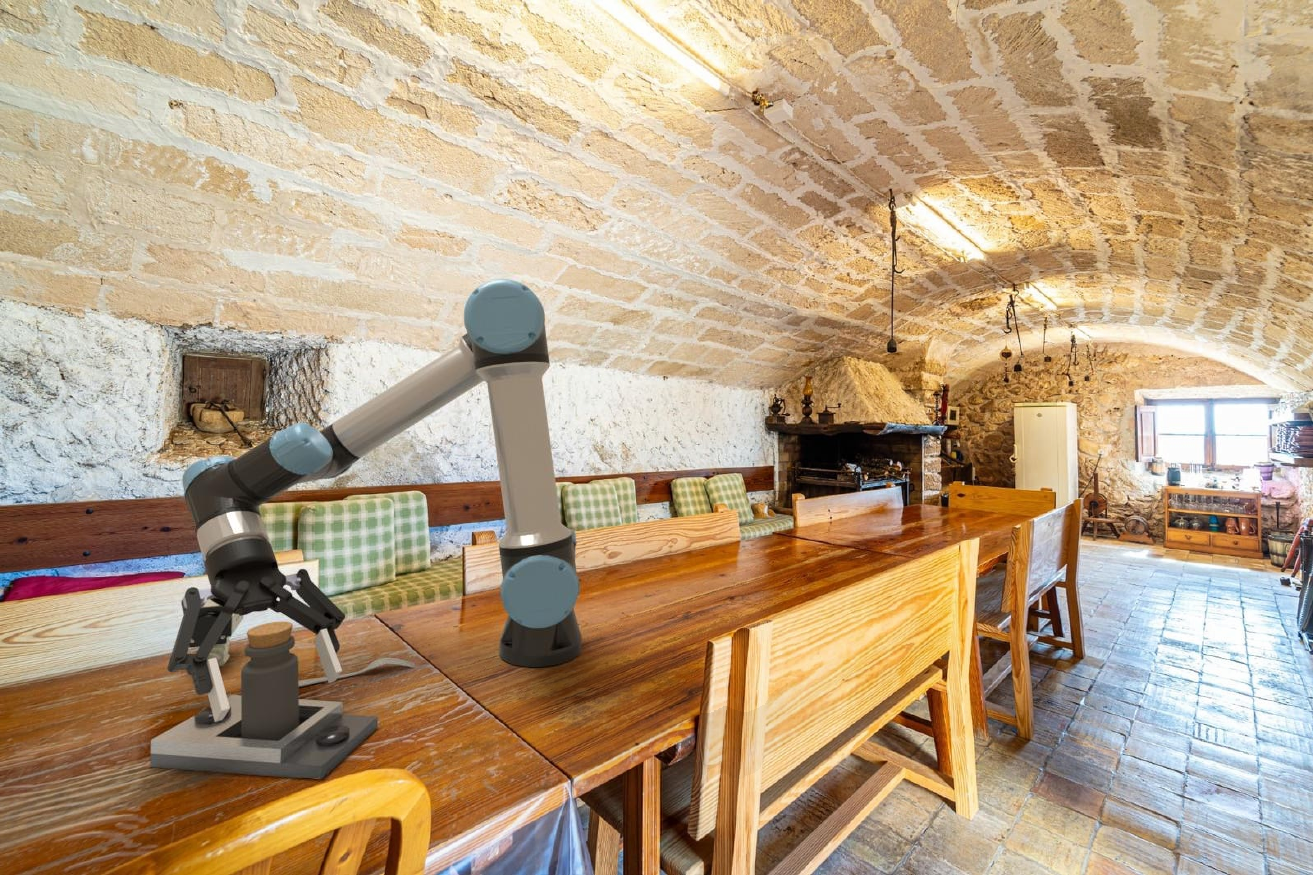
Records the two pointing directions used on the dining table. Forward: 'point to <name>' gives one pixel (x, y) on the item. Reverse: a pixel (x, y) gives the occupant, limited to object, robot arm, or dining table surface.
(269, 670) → the bottle
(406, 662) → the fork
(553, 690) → the dining table surface
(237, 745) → the grey slotted fixture base
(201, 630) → the pneumatic valve
